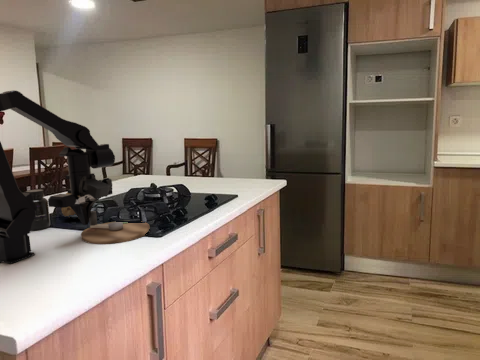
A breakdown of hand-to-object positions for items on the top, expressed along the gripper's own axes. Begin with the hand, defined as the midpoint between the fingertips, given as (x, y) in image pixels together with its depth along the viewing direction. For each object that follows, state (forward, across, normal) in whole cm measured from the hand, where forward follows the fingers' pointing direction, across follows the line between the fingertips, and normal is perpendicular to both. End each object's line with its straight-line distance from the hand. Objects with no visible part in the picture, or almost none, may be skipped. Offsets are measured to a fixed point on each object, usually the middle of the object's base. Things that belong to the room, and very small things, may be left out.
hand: (85, 224), depth 109 cm
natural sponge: (+4, +14, +18) cm, 23 cm away
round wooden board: (+3, +4, -7) cm, 9 cm away
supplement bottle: (+4, +2, +22) cm, 22 cm away
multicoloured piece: (+2, +4, -4) cm, 6 cm away
